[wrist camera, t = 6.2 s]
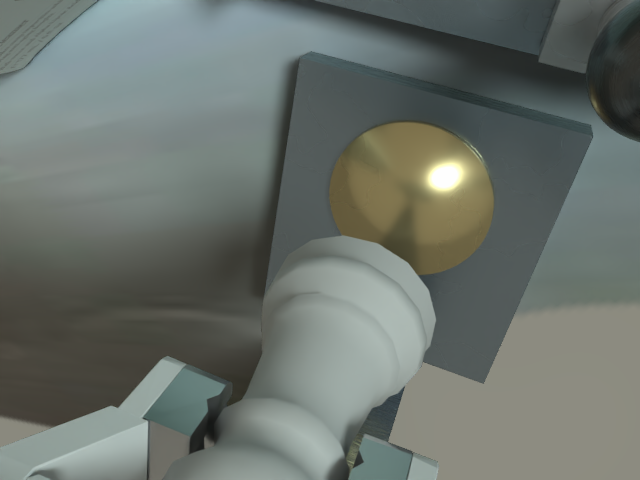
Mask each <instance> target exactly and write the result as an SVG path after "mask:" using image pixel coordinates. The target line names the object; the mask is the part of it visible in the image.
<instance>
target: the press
mask: <svg viewBox="0 0 640 480" xmlns="http://www.w3.org/2000/svg"><path fill="white" fill-rule="evenodd" d="M315 1H319V2H323V3H327V4H331V5H335V6H339V7H343V8H347V9H352V10H356V11H360V12H364V13H368V14H372V15H376V16H380V17H384V18H388V19H392V20H396V21H400V22H405V23H409V24H413V25H417V26H421V27H425V28H429V29H433V30H437V31H441V32H445V33H449V34H453V35H457V36H462V37H466V38H470V39H474V40H478V41H482V42H486V43H490V44H494V45H498V46H502V47H506V48H510V49H515V50H519V51H523V52H527V53H531V54H535V55H539V48H540V45H541V43H542V40H543V37H544V34H545V32H546V29H547V26H548V23H549V20H550V18H551V15H552V12H553V9H554V7H555V4H556V1H557V0H315ZM592 138H593V132H592V128H591V125H588V124H584V123H580V122H577V121H573V120H569V119H565V118H561V117H558V116H554V115H550V114H546V113H542V112H539V111H535V110H531V109H527V108H524V107H520V106H516V105H512V104H508V103H505V102H501V101H497V100H493V99H489V98H486V97H482V96H478V95H474V94H471V93H467V92H463V91H459V90H455V89H452V88H448V87H444V86H440V85H436V84H433V83H429V82H425V81H421V80H418V79H414V78H410V77H406V76H402V75H399V74H395V73H391V72H387V71H383V70H380V69H376V68H372V67H368V66H365V65H361V64H357V63H353V62H349V61H346V60H342V59H338V58H334V57H330V56H327V55H323V54H319V53H315V52H312V51H311V52H310V53H308V54H306V55H304V56H302V57H300V61H299V67H298V74H297V81H296V87H295V94H294V101H293V107H292V114H291V121H290V127H289V134H288V141H287V147H286V154H285V161H284V167H283V174H282V180H281V187H280V194H279V200H278V207H277V214H276V220H275V227H274V234H273V240H272V247H271V254H270V260H269V267H268V274H267V280H266V287H265V294H266V292H267V290H268V289H269V287H270V285H271V283H272V282H273V280H274V278H275V276H276V275H277V273H278V271H279V270H280V268H281V266H282V264H283V263H284V261H285V259H286V258H287V256H288V254H290V253H292V252H293V251H295V250H296V249H298V248H300V247H301V246H303V245H304V244H306V243H308V242H309V241H311V240H314V239H321V238H329V237H336V236H343V235H344V236H348V237H352V238H357V239H361V240H365V241H369V242H374V243H378V244H379V245H381V246H383V247H384V248H386V249H387V250H389V251H390V252H392V253H393V254H395V255H397V256H398V257H400V258H401V259H403V260H404V261H406V262H408V263H409V265H410V266H411V267H412V269H413V270H414V271H415V273H416V274H417V275H418V277H419V278H420V279H421V280H422V282H423V283H424V284H425V286H426V287H427V288H428V290H429V293H430V297H431V301H432V305H433V309H434V313H435V317H436V322H435V327H434V331H433V335H432V340H431V344H430V347H429V348H428V349H427V350H426V351H425V354H424V358H423V362H425V363H428V364H430V365H433V366H436V367H439V368H442V369H444V370H447V371H450V372H453V373H455V374H458V375H461V376H464V377H466V378H469V379H472V380H475V381H478V382H480V383H484V382H485V379H486V377H487V375H488V373H489V370H490V368H491V366H492V364H493V361H494V359H495V357H496V354H497V352H498V350H499V348H500V346H501V343H502V341H503V338H504V337H505V334H506V332H507V330H508V328H509V325H510V323H511V321H512V319H513V316H514V314H515V312H516V310H517V307H518V305H519V303H520V300H521V298H522V296H523V294H524V291H525V289H526V287H527V285H528V282H529V280H530V278H531V276H532V273H533V271H534V269H535V267H536V264H537V262H538V260H539V258H540V255H541V253H542V251H543V249H544V246H545V244H546V242H547V240H548V237H549V235H550V233H551V231H552V228H553V226H554V224H555V222H556V219H557V217H558V215H559V213H560V210H561V208H562V206H563V204H564V201H565V199H566V197H567V195H568V192H569V190H570V188H571V186H572V183H573V181H574V179H575V176H576V174H577V172H578V170H579V167H580V165H581V163H582V161H583V158H584V156H585V154H586V152H587V149H588V147H589V145H590V143H591V140H592ZM265 294H264V295H265ZM404 388H405V386H404V387H403V388H402V389H401V390H400V391H399V393H397V394H395V395H392V396H390V397H388V398H387V399H386V400H385V401H384V403H383V404H382V405H380V406H377V407H374V408H372V409H371V411H370V413H369V414H368V416H367V418H366V420H365V421H364V423H363V425H362V427H361V428H360V430H359V432H358V433H357V435H356V437H355V439H354V440H353V442H352V444H351V446H350V449H349V452H348V455H347V457H346V460H347V463H348V466H349V469H350V471H349V476H350V473H351V471H352V469H353V466H354V463H355V460H356V457H357V454H358V451H359V448H360V445H361V442H362V439H363V437H364V434H367V435H370V436H373V437H375V438H378V439H381V440H383V441H386V442H388V439H389V436H390V433H391V430H392V426H393V423H394V420H395V417H396V414H397V410H398V407H399V404H400V401H401V397H402V394H403V391H404ZM348 479H349V477H348Z"/></svg>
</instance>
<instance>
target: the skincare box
mask: <svg viewBox="0 0 640 480" xmlns="http://www.w3.org/2000/svg"><path fill="white" fill-rule="evenodd" d="M96 1H98V0H0V74H4V73H9V72H14V71H17V70H19V69H23V68H24V67H25V66H26V65H27V64H28V63H29V62H30V60H31V59H32V58H33V57H34V56H35V55H36V54H37V53H38V52H39V51H40V50H41V49H42V48H43V47H44V46H45V45H46V44H47V43H48V42H49V41H50V40H51V39H53V38H54V37H55V36H56V35H57V34H58V33H59V32H60V31H61V30H62V29H64V28H65V27H66V26H67V25H68V24H69V23H71V22H72V21H73V20H74V19H75V18H76V17H78V16H79V15H80V14H81V13H82V12H84V11H85V10H86V9H87V8H89V7H90V6H91V5H92V4H94V3H95V2H96Z"/></svg>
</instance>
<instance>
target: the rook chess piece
mask: <svg viewBox="0 0 640 480" xmlns="http://www.w3.org/2000/svg"><path fill="white" fill-rule="evenodd" d="M435 322H436V317H435V313H434V309H433V305H432V301H431V297H430V293H429V290H428V288H427V287H426V286H425V284H424V283H423V282H422V280H421V279H420V278H419V277H418V275H417V274H416V273H415V271H414V270H413V269H412V267H411V266H410V265H409V263H408V262H406V261H404V260H403V259H401V258H400V257H398V256H397V255H395V254H393V253H392V252H390V251H389V250H387V249H386V248H384V247H383V246H381V245H379V244H378V243H374V242H369V241H365V240H361V239H357V238H352V237H348V236H344V235H343V236H336V237H329V238H321V239H314V240H311V241H309V242H308V243H306V244H304V245H303V246H301V247H300V248H298V249H296V250H295V251H293V252H292V253H290V254H288V256H287V258H286V259H285V261H284V263H283V264H282V266H281V268H280V270H279V271H278V273H277V275H276V276H275V278H274V280H273V282H272V283H271V285H270V287H269V289H268V290H267V292H266V294H265V295H264V300H263V304H262V321H261V332H262V347H261V349H262V352H263V353H262V356H261V358H260V360H259V363H258V365H257V367H256V370H255V372H254V375H253V377H252V379H251V382H250V384H249V387H248V389H247V391H246V394H245V395H244V397H243V398H242V400H241V401H239V402H236V403H234V404H232V405H230V406H228V407H226V408H224V409H223V411H222V412H221V414H220V415H219V417H218V418H217V420H216V422H215V423H214V444H215V445H214V446H213V447H210V448H207V449H203V450H200V451H197V452H194V453H192V454H189V455H187V456H185V457H182V458H180V459H178V460H175V461H173V462H172V464H171V466H170V468H169V469H168V471H167V473H166V474H165V476H164V478H163V479H162V480H348V477H349V471H350V469H349V466H348V463H347V460H346V457H347V455H348V452H349V449H350V446H351V444H352V442H353V440H354V439H355V437H356V435H357V433H358V432H359V430H360V428H361V427H362V425H363V423H364V421H365V420H366V418H367V416H368V414H369V413H370V411H371V409H372V408H374V407H377V406H380V405H382V404H383V403H384V401H385V400H386V399H387V398H388V397H390V396H392V395H395V394H397V393H399V391H400V390H401V389H402V388H403V387H404V386H405V385H406V384H407V383H408V381H409V380H410V379H411V378H412V377H413V376H414V375H415V374H416V372H417V371H418V370H419V369H420V368H421V366H422V363H423V358H424V354H425V351H426V350H427V349H428V348H429V347H430V344H431V340H432V335H433V331H434V327H435Z"/></svg>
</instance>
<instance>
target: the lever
mask: <svg viewBox="0 0 640 480" xmlns="http://www.w3.org/2000/svg"><path fill="white" fill-rule="evenodd" d="M538 62H540V63H544V64H548V65H552V66H556V67H560V68H564V69H568V70H572V71H576V72H580V73H584V74H586V86H587V92H588V96H589V99H590V101H591V104H592V106H593V108H594V109H595V111H596V113H597V114H598V116H599V117H600V118H601V119H602V121H603V122H604V123H605V124H606V125H608V126H609V127H610V128H611V129H613V130H614V131H616V132H617V133H619V134H620V135H622V136H625V137H627V138H629V139H632V140H635V141H638V142H640V0H557V1H556V4H555V7H554V9H553V12H552V15H551V18H550V20H549V23H548V26H547V29H546V32H545V34H544V37H543V40H542V43H541V45H540V48H539V55H538Z"/></svg>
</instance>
